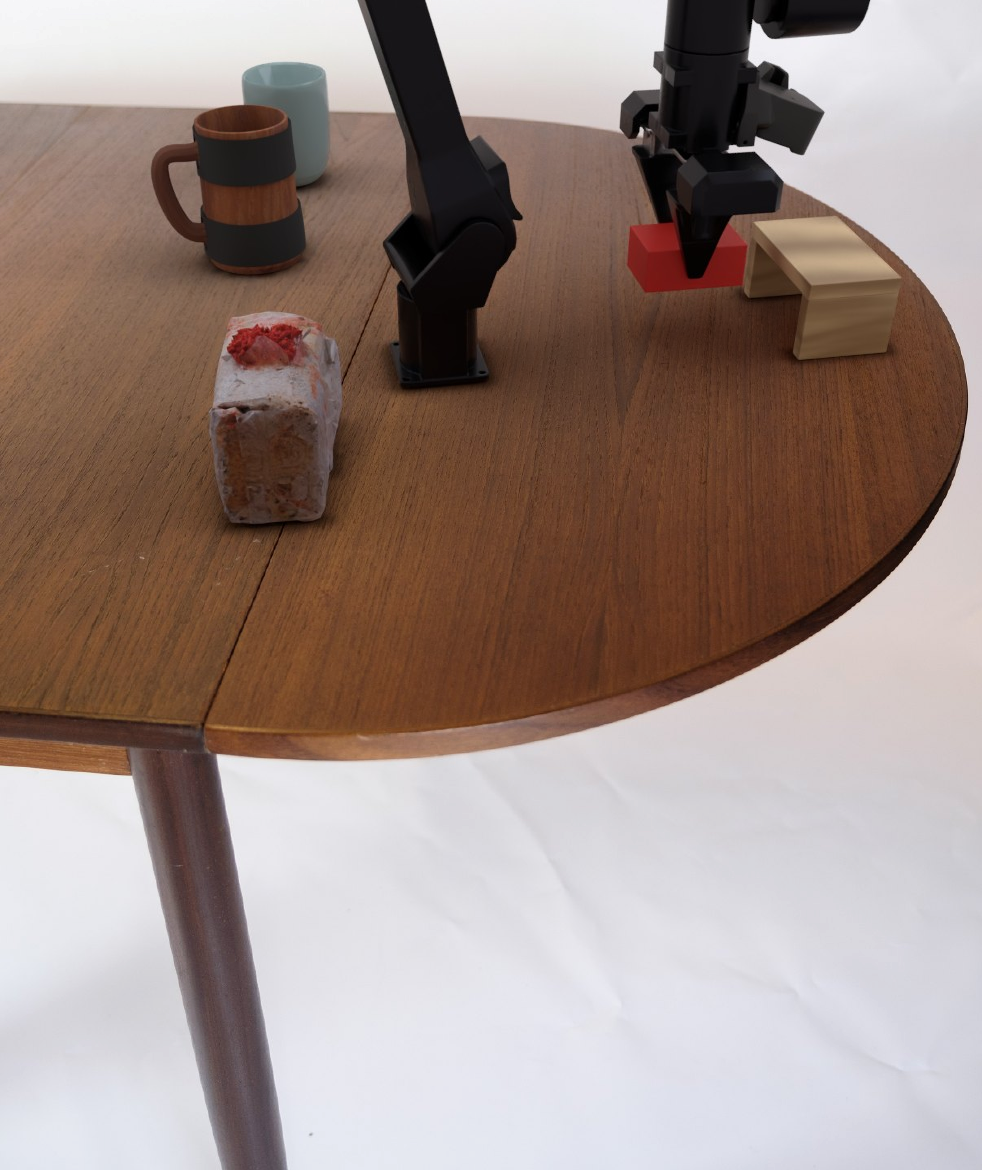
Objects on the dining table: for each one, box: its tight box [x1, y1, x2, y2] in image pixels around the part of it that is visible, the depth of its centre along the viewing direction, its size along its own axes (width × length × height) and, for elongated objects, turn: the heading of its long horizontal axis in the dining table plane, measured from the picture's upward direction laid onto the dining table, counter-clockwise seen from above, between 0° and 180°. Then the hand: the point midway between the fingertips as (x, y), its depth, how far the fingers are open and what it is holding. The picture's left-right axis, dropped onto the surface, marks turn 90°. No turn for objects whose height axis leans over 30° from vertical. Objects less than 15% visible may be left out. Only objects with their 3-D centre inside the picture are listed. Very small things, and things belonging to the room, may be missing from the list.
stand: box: [743, 215, 903, 361], centre depth 99 cm, size 12×7×6 cm, turn 11°
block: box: [626, 222, 749, 294], centre depth 95 cm, size 8×5×3 cm, turn 101°
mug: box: [150, 104, 307, 275], centre depth 106 cm, size 9×12×12 cm
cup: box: [241, 61, 331, 188], centre depth 121 cm, size 8×8×10 cm
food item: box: [208, 310, 343, 525], centre depth 80 cm, size 14×8×10 cm, turn 6°
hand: (683, 263), depth 95 cm, fingers closed on block, 5 cm apart
